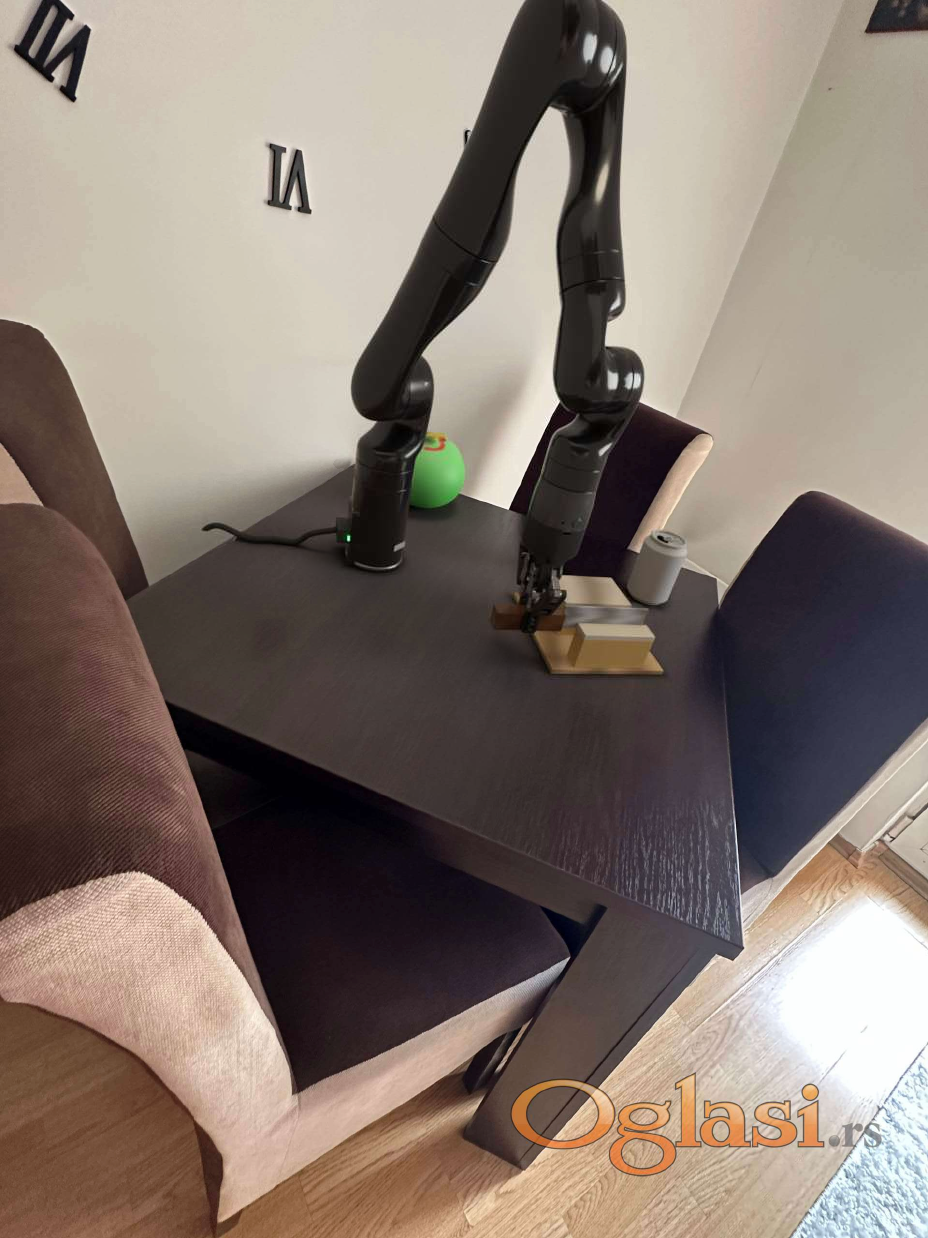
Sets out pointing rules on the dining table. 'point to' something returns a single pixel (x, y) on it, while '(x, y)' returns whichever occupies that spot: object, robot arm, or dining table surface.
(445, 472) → the toy bird
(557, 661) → the wooden stepped base
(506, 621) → the knife
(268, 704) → the dining table surface
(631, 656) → the cake slice
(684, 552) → the can
